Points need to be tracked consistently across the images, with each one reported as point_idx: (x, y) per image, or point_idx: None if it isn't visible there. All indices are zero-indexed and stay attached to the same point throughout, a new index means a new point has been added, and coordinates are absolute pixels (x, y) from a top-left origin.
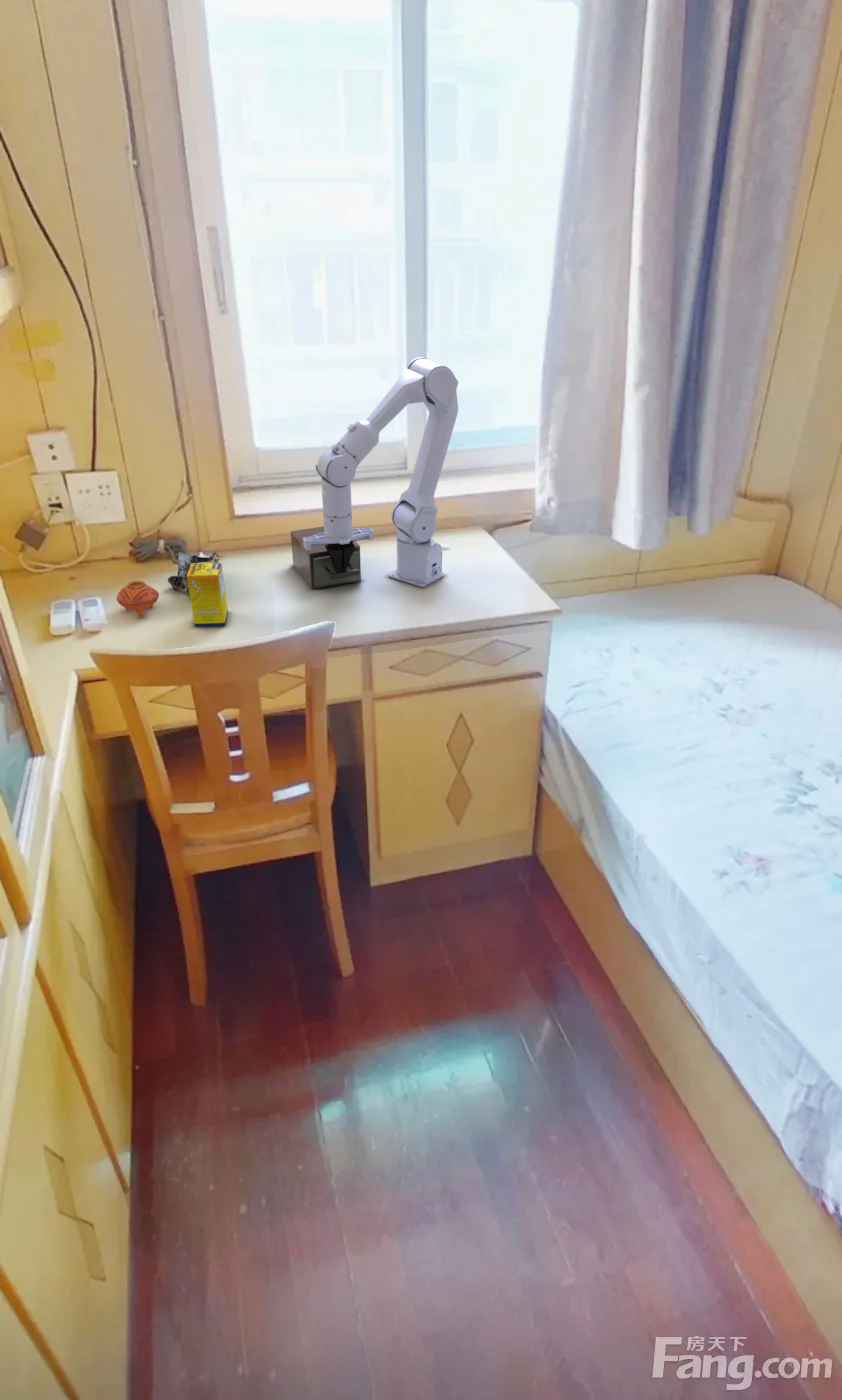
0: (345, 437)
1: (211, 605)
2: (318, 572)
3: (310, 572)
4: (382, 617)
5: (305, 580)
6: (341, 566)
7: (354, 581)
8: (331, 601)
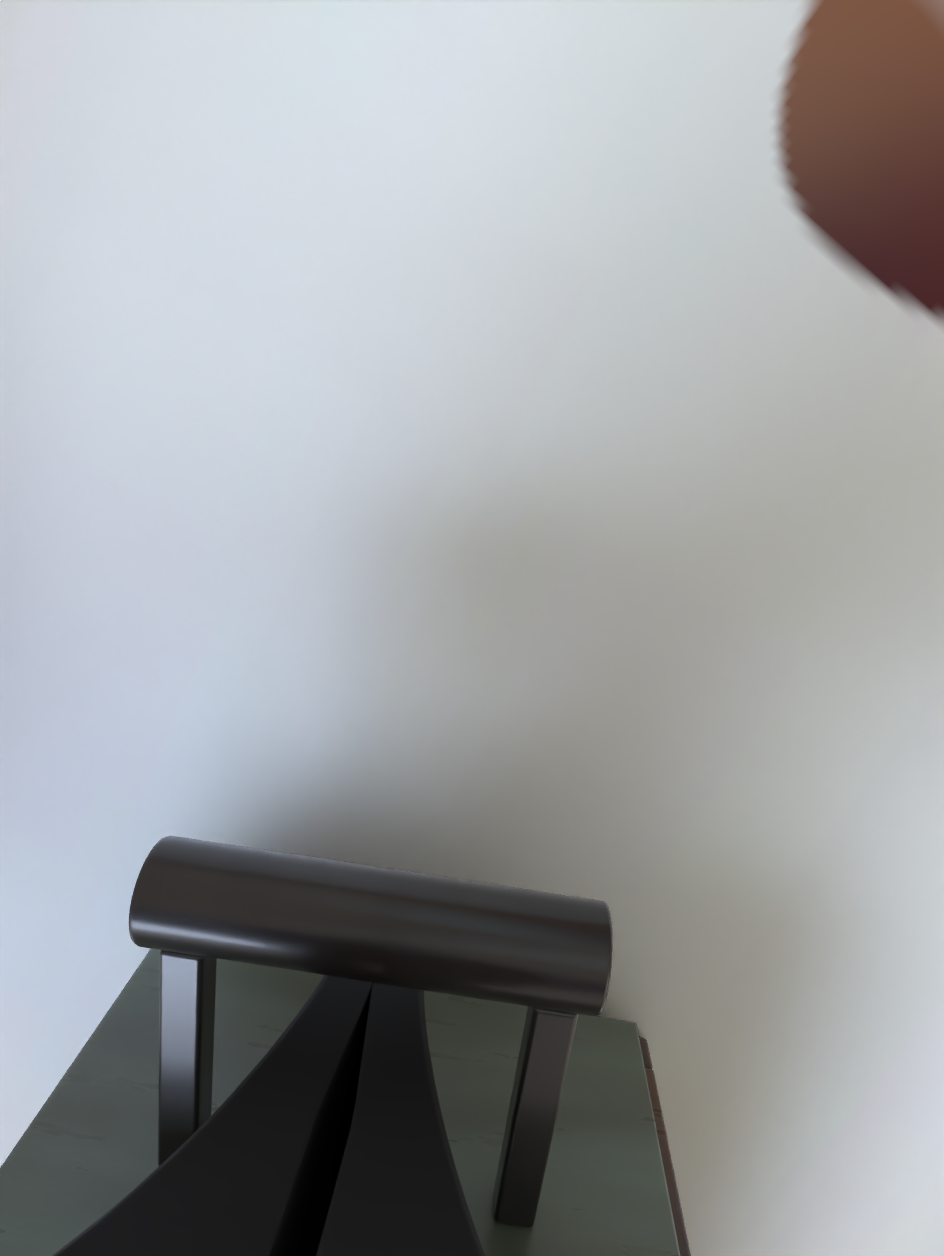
0: None
1: None
2: (622, 1178)
3: (685, 1230)
4: (280, 16)
5: None
6: (366, 1087)
7: None
8: (611, 731)
